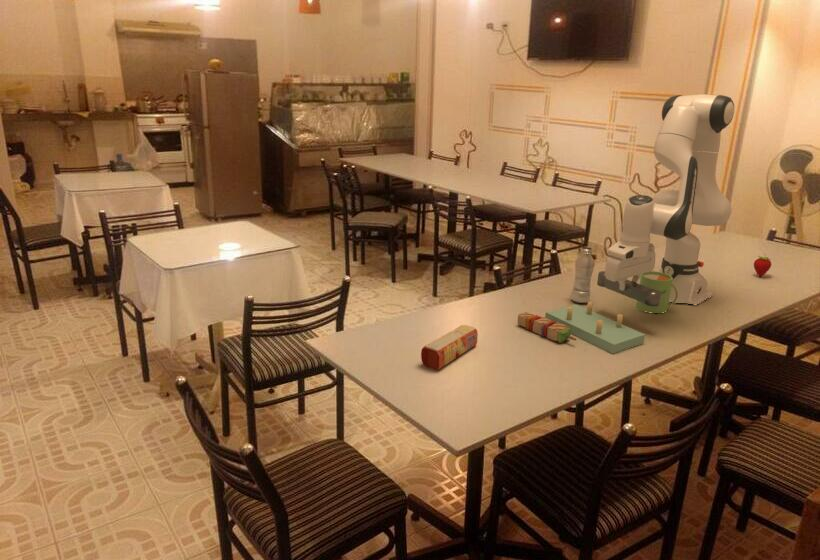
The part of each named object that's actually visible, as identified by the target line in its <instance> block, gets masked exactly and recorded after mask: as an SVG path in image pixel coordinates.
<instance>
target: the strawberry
mask: <svg viewBox="0 0 820 560" xmlns="http://www.w3.org/2000/svg"><path fill="white" fill-rule="evenodd" d="M763 254H764V257H763V256H760V255H757V257H758V258H757V259H755V260H754V262H753V268H754V270H755V272H756V274H757V276H758V275H759V276H762V277H763V276H764V275H765V274H766V273H767V272H768V271H769V270H770V269H771V267H772V262H771V258H769V256H768V257H767V256H766V255H765V253H763ZM759 276H758V277H759Z"/></svg>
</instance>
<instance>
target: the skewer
mask: <svg viewBox="0 0 820 560" xmlns="http://www.w3.org/2000/svg"><path fill="white" fill-rule="evenodd" d="M517 325H519V326H520V327H523V328H525V329H526V330H530V331H531V332H533V333H535V334H538V335H540V337H545V338H547V339H549V340H551V341H554V342H558V343H559V344H561V343H563V342H564V341H566V340H573V341H577V338H576V337H574V336H571V328H569V327H568V326H566V325H563V324H561V323H558V322H557V321H551V320H549V319H547V318H545V317H544V316H540V315H539V314H533V313H531V312H527V311H524V312H521V313H519V314H518V315H517Z"/></svg>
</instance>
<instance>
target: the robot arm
mask: <svg viewBox="0 0 820 560" xmlns="http://www.w3.org/2000/svg"><path fill="white" fill-rule="evenodd" d="M734 114H735V103H734V101H733V99H732V97H729V96H728V95H727V96H726V95H722V94H718V95H716V94H715V95H714V94H706V93H705V94H704V93H699V94H687V95H681V94H678V95H673V96H670V97H668V99H667V100H665V102H664V104H663V106H662V110H661V119H662V123H661V125H660V128H659V130H658V133H657V136H656V139H655V141H654V146H653V154H654V157H655V159H656V160H657V161H658V163H660V164H661V165H662V166H664V167H665V168H666V169H668V170H670V171H671V172H673V173H675V174H677V175H678V176H679V179H680V182H679V183H680V185H679V190H676V189H667V190H659V191H657V192H656V193H654V195H653V197H651V196H649V195H644V194H636V195H633V196H630V197H628V199H627V202H626V204H625V207H624V211H623V215H622V222H621V226H622V229H621V230H622V232H621V234H620V236H619V240H618V241H616V243H614V244H613V245H612V246H610V247H609V248H608V249H607V252H606V253H607V255H608V257H607V259H606V263H605V267H604V268H605V269H604V271H605V277H606V279H608V280H610V281H613V282H615V281H618V282H619V284H620V286H619V289H620V290H622V291H624V290H626V289H627V285H626V284H625V281H626V279H628V278H631V281H633V282H635V283H639V280H641V274H643V273H647V272H650V271H653V270H654V269H655V266H656V251H655V249H656V247H655V245H654V244H653V243H650V242H651V236H650V234H651V235H656V236H660V237H665V250H664V256H663V258H662V261H661V265H660V267H661V269H659V270H658V271H657V272H661V273H665V274H668V275H670V276H672V277H673V280H672V284H673V285H674V286H675V287H676V289H677V292H678V297H677V300H676V301H675V303H674V304H676V303H689V304H699V303H700V302H702V301H704V300H705V299H707V298H709V297H710V296H712V297H713V293H712V292H711V291H710V290H707V287H708V280H707V279H706V278H705V277H704V275H702V274H701V273H700V272H699V271H700V270H699V268H703V267H704V265H705V263H704V262H703V261H700V260H699V254H700V248H701V241H700V239H699V237H697V236H696V235H695V234H694V233H692V232H691V230H692V227H693V225H696V226H703V227H704V226H705V227H718V226H723V225H724V224H726V222H727V221H728V220H729V219H730V217H731V214H732V203H731V202H730V200H729V199H728V197H726V195H724V194H723V193H722V191H721V190H720V187H719V186H718V183H717V178H716V177H717V176H716V174H717V173H716V172H717V163H718V162H717V161H718V158H719V157H718V156H719V153H720V147H721V136H722V135H721V134H722V133H721V132H722V131H723V130H724V129H725V128H727V127H728V125H730V123H732V120H733V118H734ZM675 297H676V292H675V289H674V288H673V287H672V286H671V291H670V297H669V302H668V303H670V302H673V301H674V299H675ZM709 299H710V298H709ZM707 300H708V299H707ZM704 302H705V301H704ZM702 303H703V302H702ZM700 304H701V303H700ZM700 304H699V305H700Z"/></svg>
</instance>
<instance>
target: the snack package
mask: <svg viewBox="0 0 820 560" xmlns="http://www.w3.org/2000/svg"><path fill="white" fill-rule="evenodd" d="M478 335H479V333H478V330H477V329H476V328H475V327H473V326H470V325H466V324H461V325H459V326H458V327H456V328H455V329H453V330H451V331H450V332H448V333H445V334H444V335H442V336H441V337H439V338H437V339H436V340H434V341H431V342H430V343H428V344H427V345H424V346H423V347H422V349H421V351H420V358H421V362H422V364H423V365H424V366H425V367H426V368H428V369H432V370H435V371H438V370H441V369H442V368H443V367H445V366H447V365H448V364H449V363H451V362H452V361H454V360H455V359H457V358H458V357H459V356H461V355H462V354H464V353H465V352H468V351H469V350H471V349H472V348H475V347H476V346H477V344H478Z"/></svg>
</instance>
